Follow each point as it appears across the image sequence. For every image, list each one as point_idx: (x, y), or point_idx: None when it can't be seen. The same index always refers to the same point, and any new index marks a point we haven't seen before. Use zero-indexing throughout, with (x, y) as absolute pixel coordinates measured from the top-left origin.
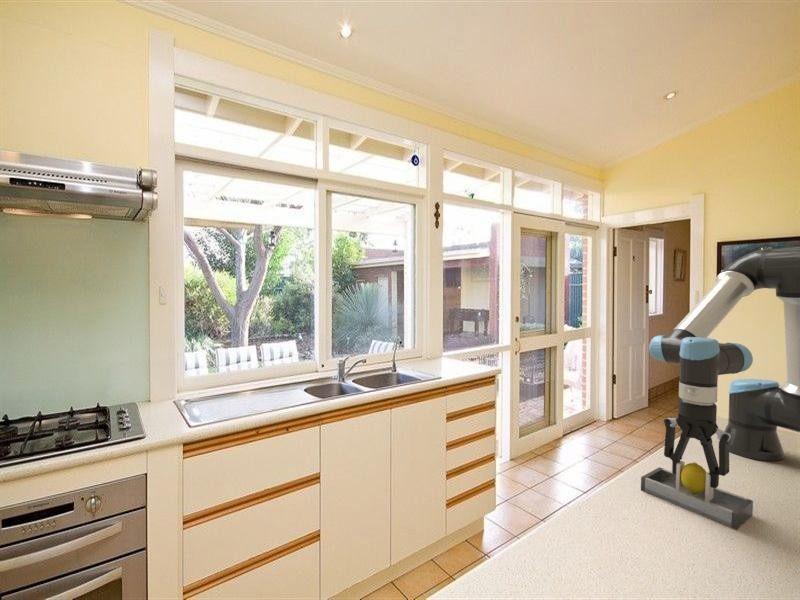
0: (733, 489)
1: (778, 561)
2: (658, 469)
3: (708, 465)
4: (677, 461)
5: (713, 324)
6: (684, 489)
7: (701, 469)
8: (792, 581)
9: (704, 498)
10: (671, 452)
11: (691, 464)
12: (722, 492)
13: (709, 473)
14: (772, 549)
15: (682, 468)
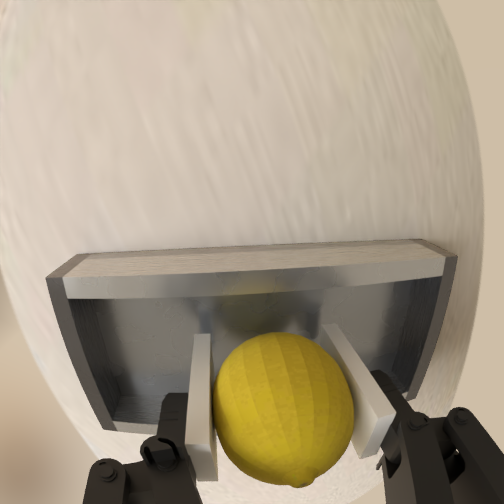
0: (318, 43)
1: (444, 391)
2: (62, 311)
3: (388, 493)
4: (194, 482)
5: None
6: (202, 297)
7: (337, 460)
8: (447, 414)
9: (293, 304)
10: (130, 499)
11: (282, 483)
12: (369, 282)
13: (379, 467)
14: (443, 367)
15: (212, 431)
